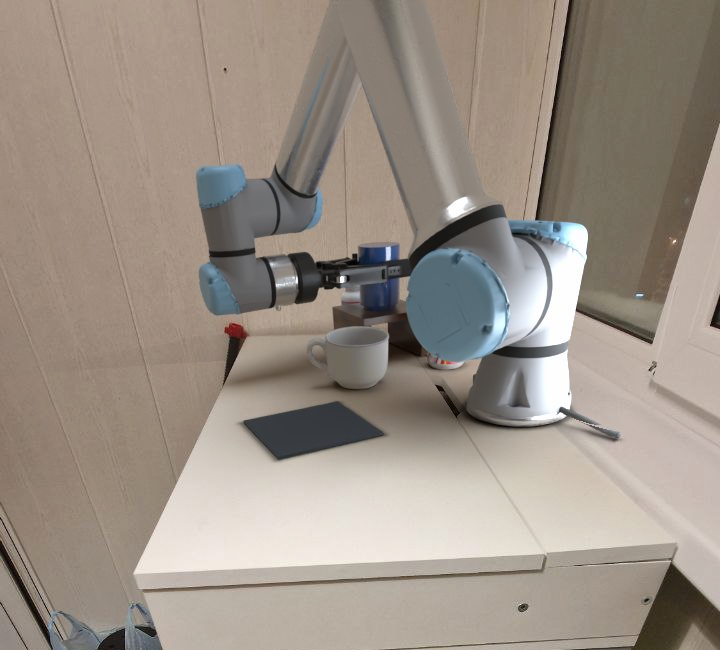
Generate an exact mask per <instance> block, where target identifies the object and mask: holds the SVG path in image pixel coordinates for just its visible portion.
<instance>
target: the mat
mask: <svg viewBox="0 0 720 650" xmlns="http://www.w3.org/2000/svg"><path fill="white" fill-rule="evenodd" d="M242 422H243V424H244V425H245V426H246V427H247V428H248V430H249V431H251V432H252V434H254V436H255V437H256V438H257V439H258V440H259V441H260V442H261V443H262V444H263V445H264V446H265V447H266V448H267V449H268V451H270V452H271V453H272V454H273V456H274V457H276V459H277V460H283V459H287V458H292V457H295V456H299V455H303V454H308V453H309V454H310V453H312V452H313V453H314V452H317V451H321V450H326V449H330V448H334V447H338V446H342V445H347V444H351V443H355V442H361V441H364V440H368V439H373V438H376V437H380V436H384V431H382V430H381V429H379V428H378V427H376V426H375V425H374V424H372V423H371V422H369V421H368V420H367V419H365V418H363V417H362V416H360V415H359V414H357V413H356V412H354V411H353V410H352V409H350V408H349V407H347V406H346V405H344V404H342V403H341V402H340V401H338V400H337V401H332V402H326V403H321V404H317V405H312V406H308V407H307V406H306V407H302V408H298V409H293V410H289V411H283V412H278V413H273V414H268V415H263V416H260V417H255V418H249V419H244V420H243V421H242Z"/></svg>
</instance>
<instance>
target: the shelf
mask: <svg viewBox="0 0 720 650" xmlns="http://www.w3.org/2000/svg"><path fill="white" fill-rule="evenodd" d="M331 309H332V321H333V323H332V324H333V330H336V329H339V328H345V327H354V326H363V327H372V326H377V325H382V324H387V333H388V334H389V339H388V343H390V344H392V345H395V346H396V347H400V348H402V349H403V350H406V351H409V352H410V353H413V354H416V355H418V356H420V357H425V356H428V351H427V350H426V349H425V348H424V347H423V346H422V345H421V344H420V343H419V341H418V340H417V338H416V337H415V335H414V333H413V331H412V329H411V326H410V324H409V320H408V316H407V311H406V300H403V299H399V303H398V304H396V308H395V309H392V310H387V311H367V310H364V309H363V306H362V305H360V303H355V304H348V305H335V306H332V308H331Z"/></svg>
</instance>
